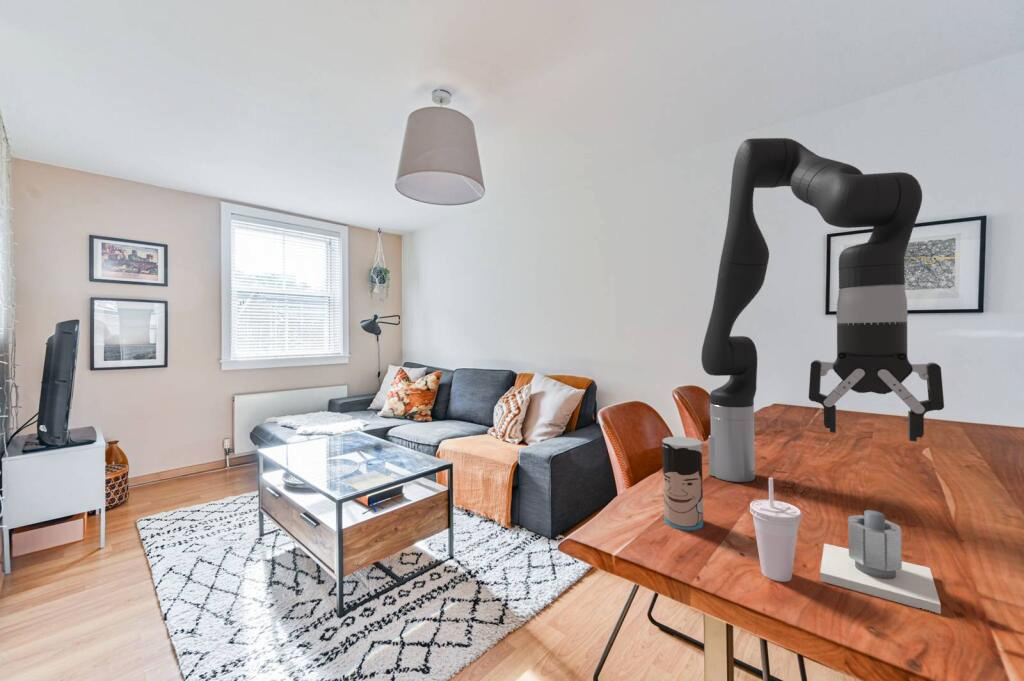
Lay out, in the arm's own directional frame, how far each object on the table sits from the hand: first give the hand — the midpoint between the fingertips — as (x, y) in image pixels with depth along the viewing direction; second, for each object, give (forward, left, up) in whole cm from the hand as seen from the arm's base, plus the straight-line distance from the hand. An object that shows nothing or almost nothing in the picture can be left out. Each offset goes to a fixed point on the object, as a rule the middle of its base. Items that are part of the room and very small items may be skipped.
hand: (871, 435), depth 60 cm
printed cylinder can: (-27, +2, -20) cm, 34 cm away
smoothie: (-11, -7, -20) cm, 24 cm away
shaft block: (0, -1, -20) cm, 20 cm away
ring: (0, 0, -17) cm, 17 cm away
